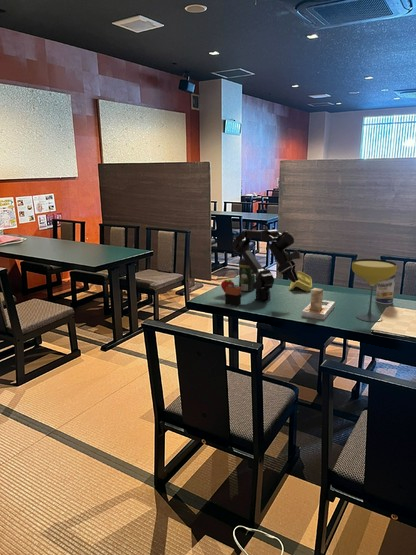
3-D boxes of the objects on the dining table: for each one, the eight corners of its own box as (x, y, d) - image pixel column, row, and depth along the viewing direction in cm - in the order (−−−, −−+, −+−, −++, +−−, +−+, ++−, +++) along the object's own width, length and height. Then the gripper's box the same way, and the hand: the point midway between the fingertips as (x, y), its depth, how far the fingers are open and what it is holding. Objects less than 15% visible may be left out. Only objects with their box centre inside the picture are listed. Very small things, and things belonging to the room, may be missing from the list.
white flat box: (301, 316, 183) (302, 310, 183) (314, 303, 201) (314, 298, 200) (324, 319, 179) (324, 313, 178) (334, 306, 196) (335, 301, 196)
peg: (310, 315, 185) (311, 289, 182) (312, 312, 188) (314, 287, 185) (318, 316, 182) (320, 291, 180) (321, 314, 186) (323, 289, 183)
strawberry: (224, 292, 222) (224, 274, 219) (236, 294, 218) (236, 276, 216) (218, 295, 217) (218, 277, 214) (231, 297, 213) (231, 278, 211)
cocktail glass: (380, 311, 190) (385, 258, 184) (399, 324, 172) (405, 267, 166) (341, 311, 189) (346, 259, 183) (357, 325, 172) (362, 267, 166)
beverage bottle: (395, 302, 203) (399, 263, 198) (389, 305, 197) (393, 265, 192) (378, 298, 209) (382, 260, 204) (372, 302, 203) (375, 263, 198)
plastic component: (311, 288, 221) (295, 279, 221) (305, 299, 224) (288, 291, 224) (312, 277, 239) (296, 269, 240) (305, 287, 242) (290, 279, 242)
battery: (237, 306, 197) (237, 287, 195) (224, 304, 201) (225, 285, 198) (241, 304, 201) (241, 285, 198) (229, 302, 204) (229, 283, 202)
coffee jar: (244, 286, 233) (244, 255, 228) (256, 288, 229) (257, 256, 224) (236, 290, 225) (236, 258, 220) (249, 292, 221) (249, 259, 216)
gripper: (290, 244, 182) (309, 274, 181) (296, 244, 200) (313, 271, 198) (270, 257, 186) (287, 286, 184) (277, 256, 204) (293, 282, 202)
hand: (296, 281), depth 192 cm, fingers open, 9 cm apart
